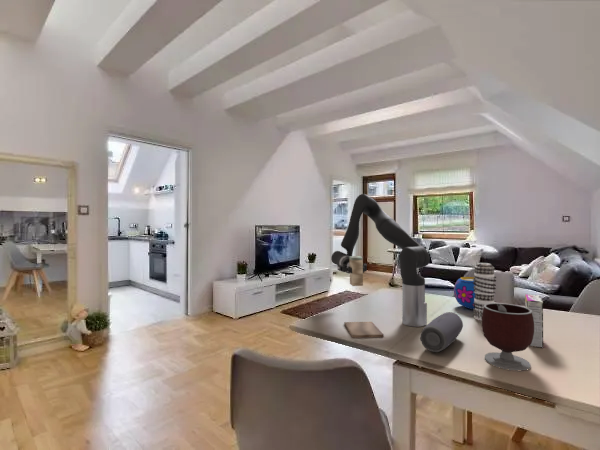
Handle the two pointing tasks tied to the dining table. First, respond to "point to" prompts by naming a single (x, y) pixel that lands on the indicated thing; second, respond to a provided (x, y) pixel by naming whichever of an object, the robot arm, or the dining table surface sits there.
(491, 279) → the decorative candle
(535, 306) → the candy bar box
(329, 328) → the dining table surface
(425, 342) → the bluetooth speaker
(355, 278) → the beech block
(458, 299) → the ceramic pot
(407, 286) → the robot arm
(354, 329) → the walnut board
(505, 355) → the mate gourd
